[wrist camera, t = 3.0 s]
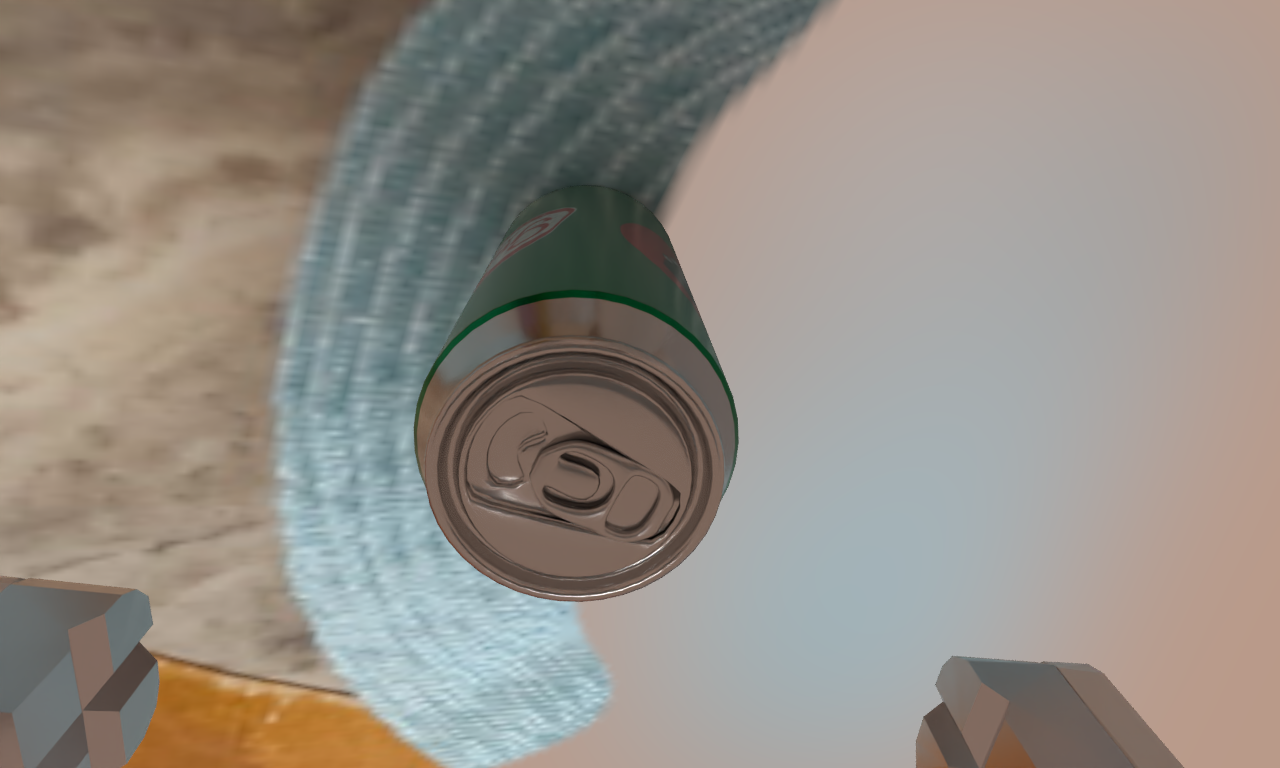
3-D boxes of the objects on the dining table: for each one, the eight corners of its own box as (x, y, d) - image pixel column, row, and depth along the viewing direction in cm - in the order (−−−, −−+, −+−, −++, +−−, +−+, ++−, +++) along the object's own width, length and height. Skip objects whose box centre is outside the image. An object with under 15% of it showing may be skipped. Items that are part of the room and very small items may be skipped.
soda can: (543, 149, 20) (478, 247, 9) (706, 231, 22) (818, 406, 11) (472, 310, 22) (346, 554, 11) (627, 379, 23) (652, 664, 12)
